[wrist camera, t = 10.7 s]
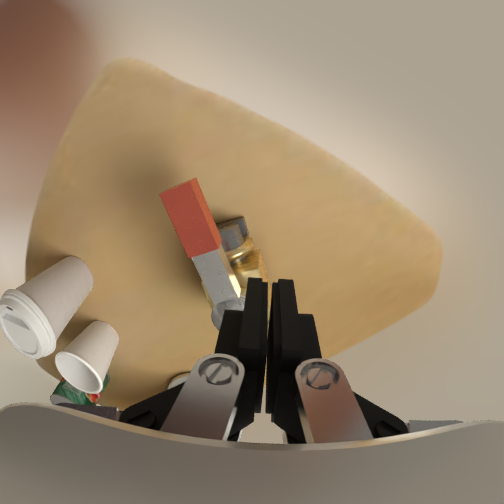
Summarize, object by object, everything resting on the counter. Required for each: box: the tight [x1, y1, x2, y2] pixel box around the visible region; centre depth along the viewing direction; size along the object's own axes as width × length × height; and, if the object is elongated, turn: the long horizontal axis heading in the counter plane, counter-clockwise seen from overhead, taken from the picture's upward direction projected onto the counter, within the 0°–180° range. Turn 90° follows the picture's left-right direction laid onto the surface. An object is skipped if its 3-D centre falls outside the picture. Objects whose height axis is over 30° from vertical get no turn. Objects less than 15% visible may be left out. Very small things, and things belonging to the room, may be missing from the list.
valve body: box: [201, 217, 272, 324], centre depth 33 cm, size 13×6×8 cm, turn 16°
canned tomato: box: [50, 372, 110, 406], centre depth 42 cm, size 8×8×11 cm
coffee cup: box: [0, 256, 94, 359], centre depth 32 cm, size 10×10×15 cm
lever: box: [160, 178, 246, 331], centre depth 26 cm, size 4×15×2 cm, turn 20°
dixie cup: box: [55, 321, 119, 394], centre depth 38 cm, size 8×8×10 cm
